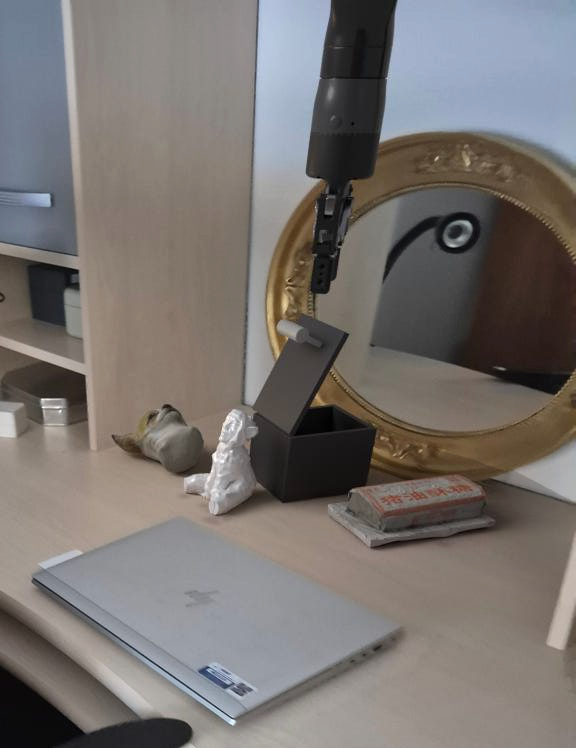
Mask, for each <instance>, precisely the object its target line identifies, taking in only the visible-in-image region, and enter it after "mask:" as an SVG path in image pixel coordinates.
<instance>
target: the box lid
mask: <svg viewBox="0 0 576 748" xmlns="http://www.w3.org/2000/svg"><path fill="white" fill-rule="evenodd" d="M276 331H277V333H278V334H280V335H281V336H284V337H286V338H287V340H286V341H285V344H284V345H283V348H282V350H281V352H280V353H279V355H278V357H277V359H276V361H275V363H274V365H273V366H272V369H271V371H270V373H269V374H268V377H267V378H266V380H265V382H264V384H263V385H262V388H261V390H260V392H259V394H258V395H257V398H256V399H255V401H254V403H253V405H252V407H251V409H252V410H253V411H254V412H255V413H259V414H260V415H262V416H263V417H265V418H266V419H268V420H269V421H270V422H272V423H273V424H275V425H276V426H278V427H279V428H281V429H282V430H284V431H285V432H286V433H288V434H289V435H292V436H294V435H295V433H296V431H297V429H298V427H299V425H300V424H301V422H302V420H303V418H304V416H305V415H306V413H307V411H308V409H309V407H312V406H311V405H312V404H313V402H314V400H315V399H316V396H317V395H318V392H319V391H320V389H321V388H322V386H323V384H324V382H325V380H326V378H327V377H328V375H329V372H330V371H331V369H332V367H333V366H334V365H335V362H336V360H337V358H338V357H339V355H340V353H341V351H342V349H343V348H344V346H345V344H346V342H347V340H348V339H349V337H350V335H351V334H350V333H349V332H346V331H345V330H342V329H340V328H337V327H336V326H333V325H331V324H328V323H326V322H324V321H321V320H320V319H317V318H315V317H313V316H310V315H308V314H306V313H303V312H301V313H300V315H299V317H298V319H297V321H296V322H294V321H291V320H288V319H287V318H283V319H281V320H279V321H278V322H277V324H276Z"/></svg>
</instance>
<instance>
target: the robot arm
mask: <svg viewBox="0 0 576 748" xmlns="http://www.w3.org/2000/svg"><path fill="white" fill-rule="evenodd" d="M398 1H399V0H330V7H329V8H330V9H329V17H328V22H327V25H326V31H325V36H324V40H323V46H322V47H323V48H322V54H321V63H320V72H319V79H318V85H317V90H316V92H315V98H314V103H313V108H312V117H311V125H310V133H309V140H308V149H307V157H306V164H305V175H306V176H307V177H308V178H311V179H315V180H323V181H324V183H325V186H324V191H323V193H320V194H319V196H317V197H316V201H315V205H314V206H315V207H314V209H315V210H314V212H315V219H314V222H313V228H312V238H313V242H312V245H311V248H310V251H311V255H312V258H313V264H312V270H311V278H310V286H309V291H310V293H311V294H315V295H327V294H328V293H329V292H330V290H331V285H332V282H333V281H335V280H336V279H337V276H338V270H339V265H340V257H341V252H342V251H341V250H342V248H341V247H343V245H344V244H345V237H346V236H347V233H348V231H349V227H350V223H351V214H352V213H353V211H354V206H355V205H354V204H355V195H352V193H353V192H354V187H353V183H351V181H364V180H370V179H371V178H372V177H373V176H374V175H375V171H376V165H377V160H378V154H379V153H378V152H379V147H380V142H381V141H380V140H381V134H382V129H383V122H384V116H385V110H386V102H387V85H388V84H387V83H388V79H387V78H388V77H389V70H390V66H391V65H390V64H391V59H392V52H393V45H394V40H395V39H394V38H395V25H396V11H397V5H398Z"/></svg>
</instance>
